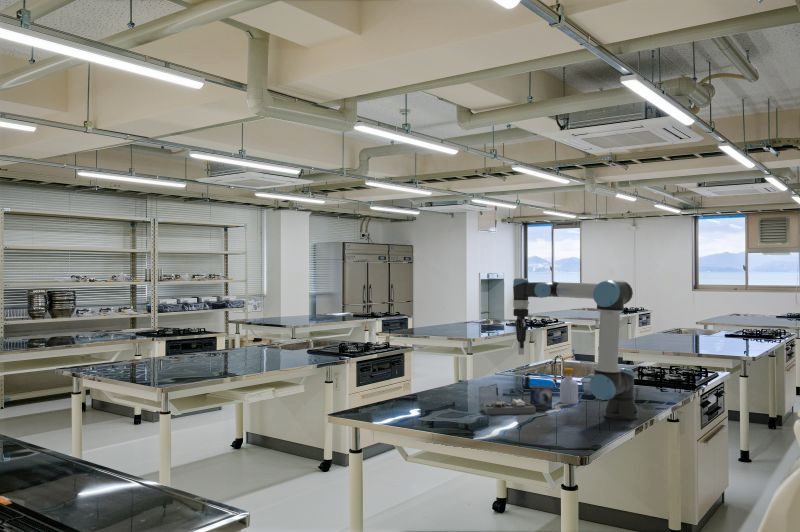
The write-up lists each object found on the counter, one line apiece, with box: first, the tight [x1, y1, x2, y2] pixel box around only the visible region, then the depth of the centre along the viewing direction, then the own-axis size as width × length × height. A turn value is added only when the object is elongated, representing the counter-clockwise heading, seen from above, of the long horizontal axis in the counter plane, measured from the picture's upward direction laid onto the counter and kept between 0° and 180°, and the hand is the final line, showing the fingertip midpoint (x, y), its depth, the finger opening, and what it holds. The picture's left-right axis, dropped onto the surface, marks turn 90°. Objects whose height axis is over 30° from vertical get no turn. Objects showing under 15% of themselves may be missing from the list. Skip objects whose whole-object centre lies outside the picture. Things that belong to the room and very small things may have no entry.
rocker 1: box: [492, 400, 505, 404], centre depth 306 cm, size 8×4×1 cm, turn 5°
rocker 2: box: [512, 398, 525, 405], centre depth 307 cm, size 8×4×1 cm, turn 5°
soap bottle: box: [559, 355, 579, 405], centre depth 327 cm, size 9×9×25 cm
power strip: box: [481, 400, 549, 415], centre depth 307 cm, size 10×32×5 cm, turn 96°
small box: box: [529, 385, 553, 410], centre depth 316 cm, size 11×6×10 cm, turn 82°
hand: (521, 354), depth 320 cm, fingers closed
